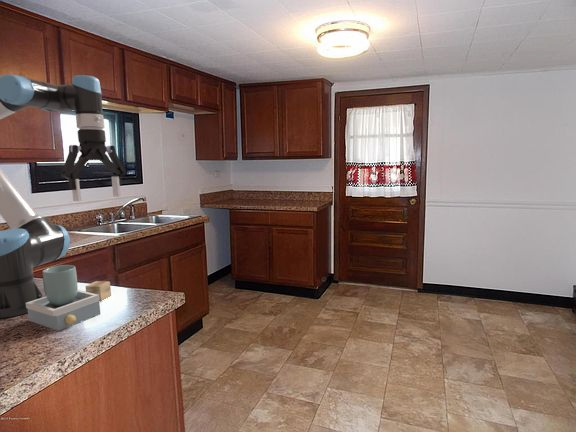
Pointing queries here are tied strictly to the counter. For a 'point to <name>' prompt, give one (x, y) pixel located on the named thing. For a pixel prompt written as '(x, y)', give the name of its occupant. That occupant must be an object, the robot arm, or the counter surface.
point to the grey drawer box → (64, 311)
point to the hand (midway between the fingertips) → (98, 198)
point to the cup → (60, 284)
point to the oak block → (100, 289)
